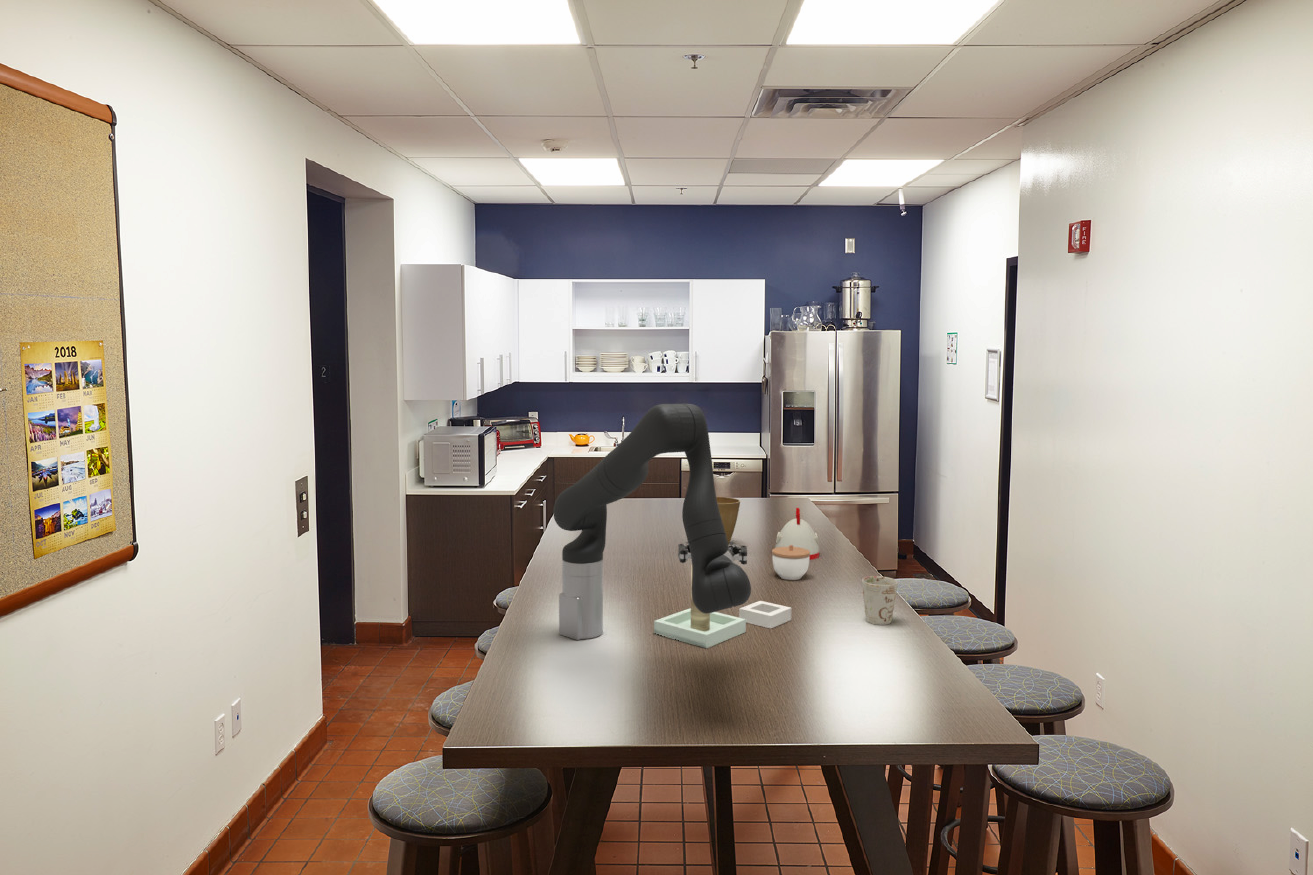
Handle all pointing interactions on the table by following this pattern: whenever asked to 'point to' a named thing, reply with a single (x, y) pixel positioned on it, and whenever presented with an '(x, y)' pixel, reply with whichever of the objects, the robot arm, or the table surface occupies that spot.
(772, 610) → the holder block
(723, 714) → the table surface
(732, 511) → the plant pot
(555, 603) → the table surface
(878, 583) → the mug
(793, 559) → the lidded jar
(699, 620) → the dowel
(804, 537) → the chicken shaped dome
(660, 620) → the tray
